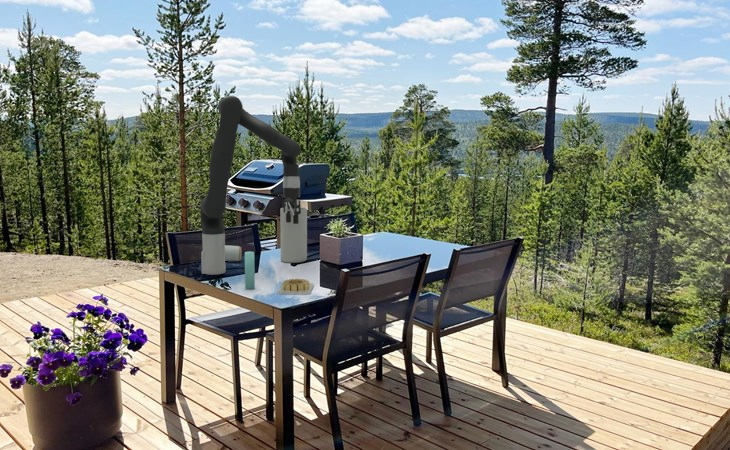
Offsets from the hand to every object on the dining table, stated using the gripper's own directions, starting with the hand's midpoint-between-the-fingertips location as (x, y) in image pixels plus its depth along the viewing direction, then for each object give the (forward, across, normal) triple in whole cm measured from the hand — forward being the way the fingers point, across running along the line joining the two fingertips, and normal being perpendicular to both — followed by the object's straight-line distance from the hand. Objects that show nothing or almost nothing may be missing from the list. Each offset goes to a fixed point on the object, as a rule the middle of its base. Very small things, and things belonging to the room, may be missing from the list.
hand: (292, 223), depth 244 cm
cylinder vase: (+19, -15, +7) cm, 25 cm away
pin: (+22, +25, -28) cm, 44 cm away
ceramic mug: (+19, -28, -20) cm, 39 cm away
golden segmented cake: (+23, +35, -13) cm, 44 cm away
